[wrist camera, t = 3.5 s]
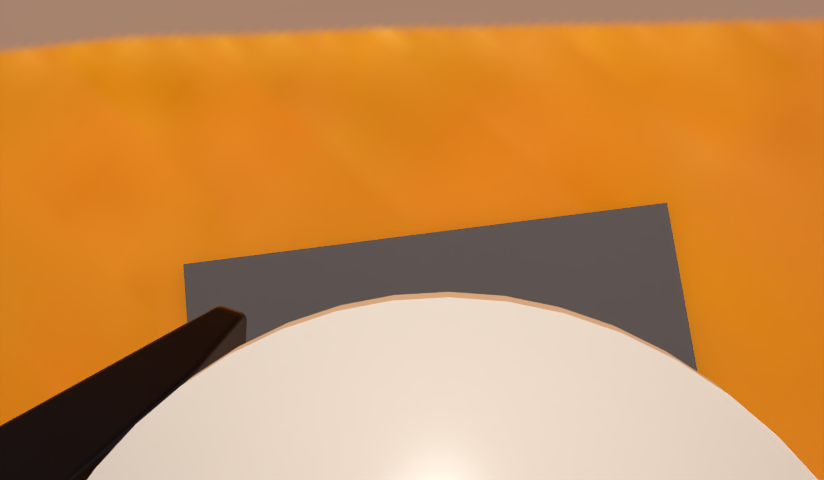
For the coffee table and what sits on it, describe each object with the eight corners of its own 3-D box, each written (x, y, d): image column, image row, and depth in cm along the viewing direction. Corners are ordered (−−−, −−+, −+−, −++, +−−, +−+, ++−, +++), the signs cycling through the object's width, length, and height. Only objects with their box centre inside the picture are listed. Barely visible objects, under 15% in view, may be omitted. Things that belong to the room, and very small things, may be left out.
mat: (740, 637, 16) (746, 642, 15) (218, 691, 16) (214, 698, 16) (663, 205, 17) (666, 202, 17) (187, 265, 18) (183, 264, 17)
